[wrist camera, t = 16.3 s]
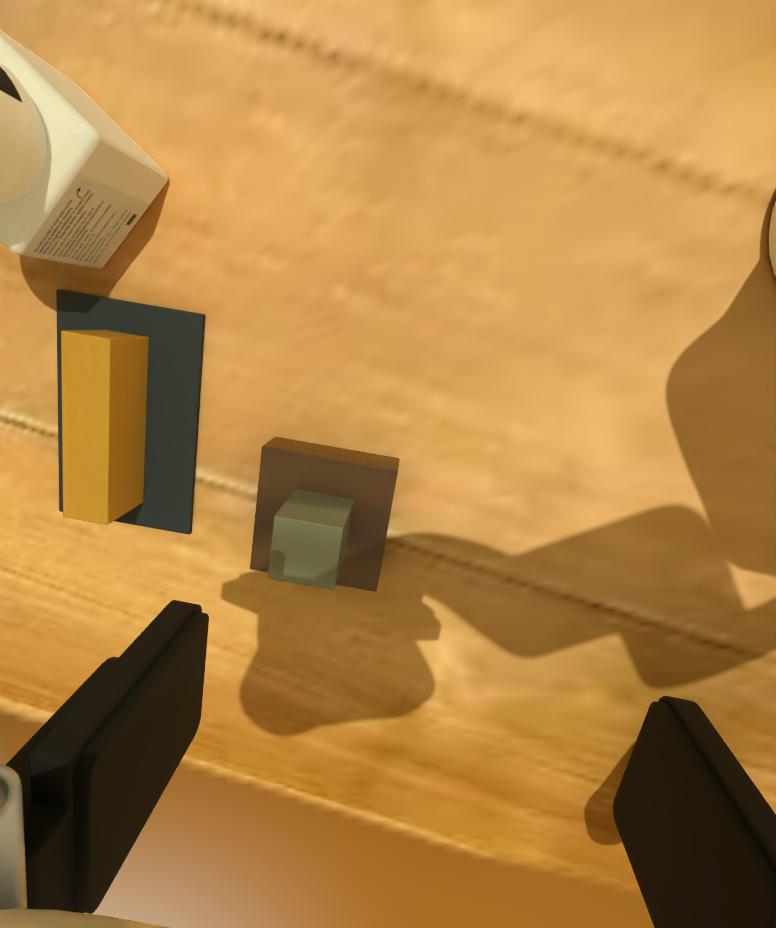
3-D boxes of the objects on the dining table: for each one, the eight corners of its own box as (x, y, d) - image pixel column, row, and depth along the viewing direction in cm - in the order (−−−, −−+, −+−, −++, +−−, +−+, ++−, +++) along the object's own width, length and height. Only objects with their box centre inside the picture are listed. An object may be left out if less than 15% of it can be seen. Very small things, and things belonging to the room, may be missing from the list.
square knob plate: (274, 436, 36) (234, 466, 28) (399, 458, 36) (393, 494, 28) (262, 551, 38) (222, 607, 31) (379, 572, 38) (369, 634, 31)
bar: (105, 329, 34) (60, 330, 30) (149, 337, 34) (110, 338, 30) (103, 495, 38) (62, 517, 33) (143, 502, 38) (107, 525, 33)
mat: (60, 289, 34) (56, 289, 34) (205, 314, 34) (203, 314, 34) (62, 509, 39) (59, 511, 38) (191, 532, 38) (189, 534, 38)
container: (7, 182, 33) (-248, 94, 20) (75, 80, 31) (-160, -85, 18) (102, 271, 34) (-84, 240, 21) (173, 178, 32) (14, 84, 20)
